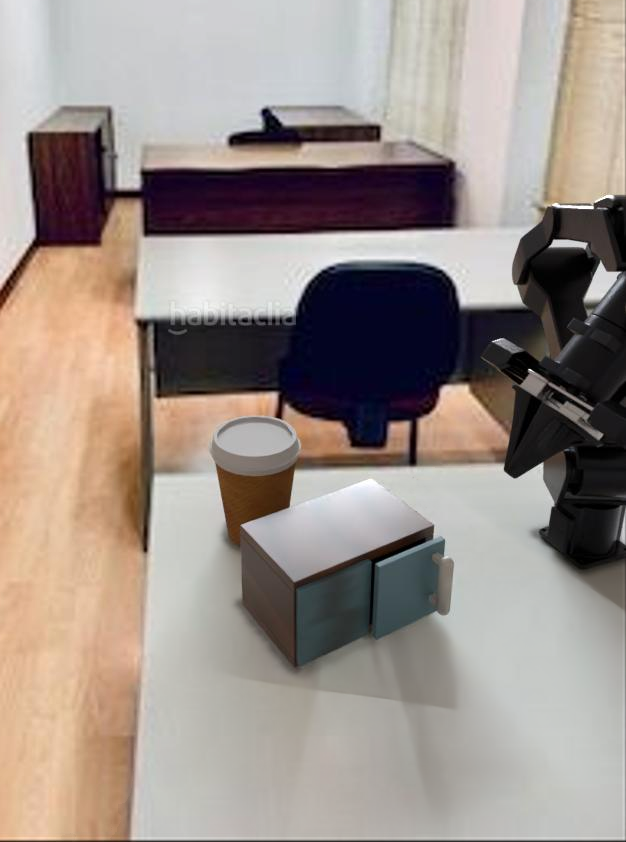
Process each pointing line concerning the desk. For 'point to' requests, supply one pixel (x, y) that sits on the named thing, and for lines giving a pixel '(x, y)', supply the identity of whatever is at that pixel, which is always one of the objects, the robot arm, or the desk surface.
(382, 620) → the sliding door
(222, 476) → the disposable coffee cup
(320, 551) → the cabinet
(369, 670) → the desk surface
